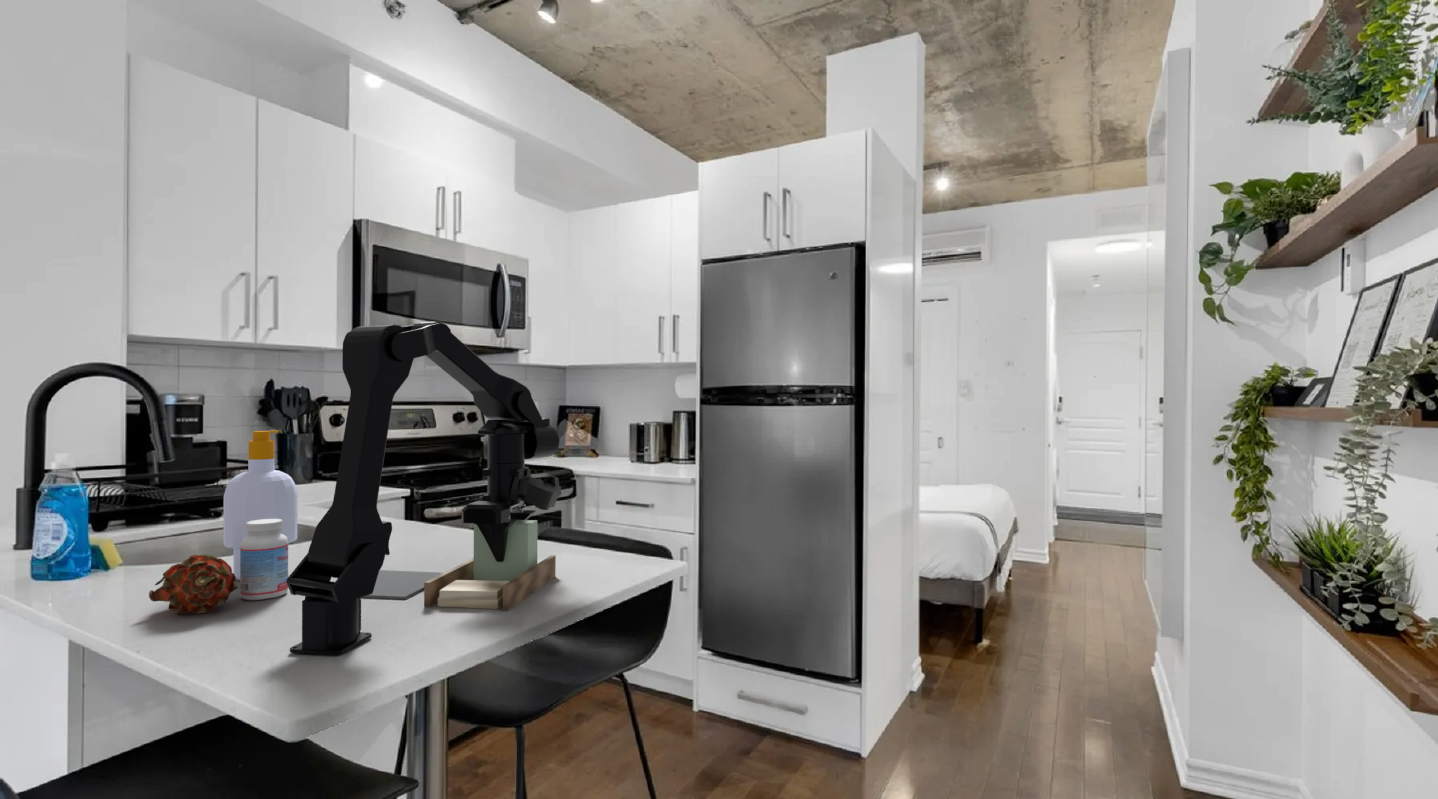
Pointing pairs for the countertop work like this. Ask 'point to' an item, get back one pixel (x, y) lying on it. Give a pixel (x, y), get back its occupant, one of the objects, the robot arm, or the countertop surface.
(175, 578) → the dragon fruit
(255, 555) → the pill bottle
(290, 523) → the soap bottle
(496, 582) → the offcut stack
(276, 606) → the countertop surface
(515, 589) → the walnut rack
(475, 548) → the upright mint green block
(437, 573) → the charcoal mat
